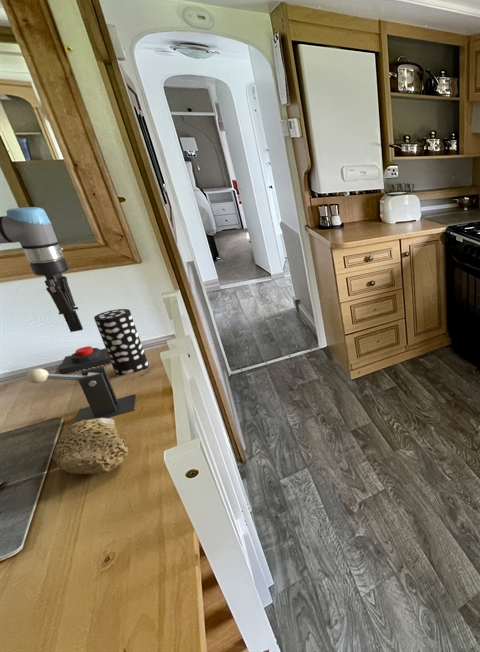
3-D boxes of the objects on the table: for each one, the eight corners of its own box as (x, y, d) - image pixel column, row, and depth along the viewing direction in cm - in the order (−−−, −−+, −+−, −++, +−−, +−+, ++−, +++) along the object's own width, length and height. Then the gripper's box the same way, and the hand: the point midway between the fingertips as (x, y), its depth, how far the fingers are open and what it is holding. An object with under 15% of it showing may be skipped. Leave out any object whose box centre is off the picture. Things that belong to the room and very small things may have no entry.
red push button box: (61, 375, 119) (56, 364, 118) (67, 362, 127) (63, 352, 125) (111, 364, 126) (107, 353, 125) (114, 352, 134) (110, 342, 132)
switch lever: (22, 385, 90) (26, 371, 89) (27, 378, 92) (30, 365, 92) (98, 388, 98) (102, 375, 98) (100, 382, 101) (103, 369, 101)
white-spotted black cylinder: (109, 374, 120) (87, 317, 113) (137, 361, 128) (118, 307, 120) (127, 379, 118) (105, 321, 111) (155, 366, 125) (136, 311, 118)
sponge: (64, 451, 91) (38, 493, 75) (62, 420, 90) (35, 455, 74) (136, 438, 99) (126, 473, 83) (135, 409, 98) (124, 439, 82)
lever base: (74, 430, 96) (55, 388, 91) (80, 412, 103) (62, 372, 98) (135, 413, 103) (120, 373, 98) (137, 397, 109) (123, 358, 105)
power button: (76, 358, 123) (74, 353, 122) (78, 353, 125) (76, 348, 125) (92, 354, 125) (91, 349, 124) (94, 349, 128) (92, 345, 127)
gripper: (59, 262, 111) (89, 334, 119) (68, 253, 120) (95, 320, 129) (22, 267, 106) (56, 341, 115) (34, 257, 116) (64, 326, 125)
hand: (76, 330), depth 122 cm, fingers closed
